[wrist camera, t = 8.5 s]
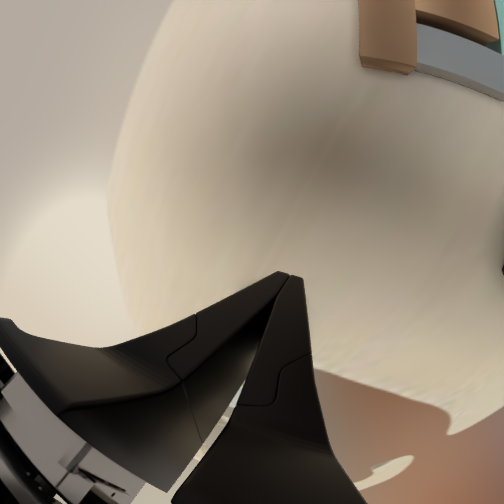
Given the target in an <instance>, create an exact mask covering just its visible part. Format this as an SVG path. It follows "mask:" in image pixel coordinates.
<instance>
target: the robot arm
mask: <svg viewBox="0 0 504 504" xmlns="http://www.w3.org/2000/svg"><path fill="white" fill-rule="evenodd" d="M502 273H503V275H504V266H503V268H502ZM0 348H1V349H2V350H3V352H4V354H5V355H6V356H7V358H8V359H9V361H10V362H11V363H12V365H13V366H14V368H16V370H17V372H16V373H15V372H14V371H13V370H12V368H11V367H10V366H9V365H8V363H7V362H6V360H5V359H4V358H3V356H2V355H1V354H0V504H62V503H61V502H59V501H58V500H56V499H55V498H53V497H54V496H55V495H56V494H58V495H59V496H60V497H61V498H62V499H63V500H64V501H65V502H66V503H67V504H130V503H131V502H132V501H133V499H134V498H135V497H136V495H137V494H138V493H139V491H140V490H141V488H142V487H143V486H144V484H145V483H146V482H147V483H149V484H151V485H153V486H155V487H156V488H158V489H160V490H162V491H164V492H166V493H167V492H168V491H169V490H170V488H171V487H172V485H173V484H174V483H175V482H176V480H177V479H178V478H179V476H180V475H181V474H182V472H183V471H184V470H185V468H186V467H187V465H188V464H189V463H190V461H191V460H192V459H193V457H194V456H195V454H196V453H197V452H198V450H199V449H200V447H201V446H202V443H204V442H205V440H206V438H207V437H208V436H209V434H210V433H211V431H212V430H213V428H214V427H215V425H216V424H217V422H218V421H219V419H220V418H221V416H222V415H223V413H224V412H225V410H226V409H227V407H228V406H229V404H230V403H231V401H232V400H233V398H234V397H235V395H236V393H237V392H238V390H239V389H240V387H241V386H242V384H243V382H244V381H245V383H244V385H243V388H242V390H241V393H240V395H239V398H238V400H237V403H236V406H235V408H234V410H233V413H232V415H231V417H230V419H229V421H228V423H227V424H226V426H225V427H224V429H223V430H222V432H221V433H220V435H219V436H218V437H217V439H216V440H215V442H214V443H213V444H212V446H211V447H210V448H209V450H208V451H207V452H206V454H205V455H204V456H203V458H202V459H201V460H200V462H199V463H198V464H197V466H196V467H195V468H194V470H193V471H192V472H191V474H190V475H189V476H188V477H187V479H186V480H185V481H184V482H183V484H182V485H181V486H180V487H179V489H178V490H177V491H176V493H175V494H174V496H173V498H172V500H171V503H172V504H368V503H367V502H366V501H365V499H364V498H363V497H362V495H361V494H360V492H359V491H358V489H357V488H356V487H355V485H354V484H353V482H352V481H351V479H350V478H349V476H348V475H347V474H346V472H345V471H344V469H343V468H342V466H341V465H340V463H339V462H338V460H337V459H336V457H335V455H334V453H333V450H332V448H331V445H330V442H329V438H328V435H327V430H326V426H325V422H324V418H323V414H322V410H321V405H320V401H319V397H318V393H317V388H316V384H315V377H314V369H313V360H312V355H311V354H312V351H311V341H310V331H309V322H308V313H307V305H306V297H305V289H304V281H303V278H301V277H298V276H294V275H289V274H287V273H284V272H280V271H277V272H275V273H273V274H271V275H269V276H267V277H265V278H263V279H261V280H260V281H258V282H256V283H254V284H252V285H250V286H248V287H246V288H244V289H242V290H240V291H238V292H237V293H235V294H233V295H231V296H229V297H227V298H225V299H223V300H221V301H219V302H217V303H215V304H213V305H211V306H209V307H207V308H205V309H203V310H201V311H199V312H197V313H196V314H193V315H191V316H189V317H187V318H185V319H183V320H181V321H178V322H176V323H174V324H172V325H170V326H167V327H165V328H162V329H159V330H157V331H154V332H152V333H149V334H146V335H143V336H140V337H138V338H135V339H132V340H129V341H126V342H124V343H121V344H117V345H114V346H110V347H103V348H93V347H87V346H81V345H75V344H70V343H65V342H59V341H54V340H50V339H45V338H41V337H37V336H33V335H30V334H28V333H25V332H24V331H22V330H20V329H19V328H18V327H17V326H16V325H15V324H14V322H13V321H12V320H11V319H7V318H0ZM245 379H246V380H245Z"/></svg>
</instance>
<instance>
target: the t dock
mask: <svg viewBox="0 0 504 504" xmlns="http://www.w3.org/2000/svg"><path fill="white" fill-rule="evenodd" d="M493 1H494V6H495V12H496V18H497V25H498V34H499V40H497V41H494V42H492V43H490V44H488V45H486V46H482V45H480V44H478V43H475V42H473V41H470V40H468V39H465V38H463V37H460V36H457V35H454V34H451V33H449V32H445V31H442V30H439V29H436V28H433V27H429V26H426V25H422V24H418V23H416V26H417V67H416V68H415V69H414V70H415V71H419V72H423V73H427V74H430V75H434V76H437V77H440V78H443V79H447V80H450V81H453V82H455V83H458V84H461V85H464V86H467V87H469V88H472V89H474V90H477V91H479V92H482V93H484V94H487V95H489V96H491V97H493V98H496V99H498V100H500V101H504V0H493Z"/></svg>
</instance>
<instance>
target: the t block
mask: <svg viewBox="0 0 504 504" xmlns="http://www.w3.org/2000/svg"><path fill="white" fill-rule="evenodd" d="M358 4H359V56H360V61H361V65H362V66H363V67H369V68H375V69H381V70H386V71H391V72H396V73H400V74H405V75H408V74H409V73H410V72H412V71H413V70H414V69H415V68H416V67H417V26H416V23H418V24H422V25H426V26H429V27H433V28H436V29H439V30H442V31H445V32H449V33H451V34H454V35H457V36H460V37H463V38H465V39H468V40H470V41H473V42H475V43H478V44H480V45H482V46H486V45H488V44H490V43H492V42H494V41H497V40H499V34H498V25H497V18H496V12H495V6H494V1H493V0H358Z"/></svg>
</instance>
